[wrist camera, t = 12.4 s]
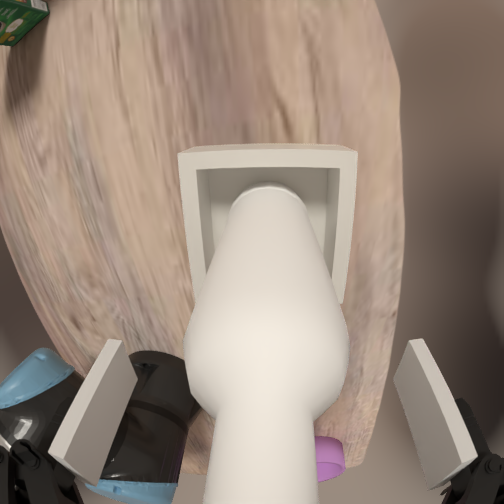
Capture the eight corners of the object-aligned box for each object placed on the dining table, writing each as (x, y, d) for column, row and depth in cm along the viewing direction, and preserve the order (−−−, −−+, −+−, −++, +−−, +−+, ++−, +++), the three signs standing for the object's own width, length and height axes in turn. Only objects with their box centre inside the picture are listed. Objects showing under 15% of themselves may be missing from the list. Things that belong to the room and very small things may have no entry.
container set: (345, 431, 50) (354, 485, 39) (338, 458, 57) (343, 502, 45) (227, 439, 53) (220, 492, 41) (238, 464, 59) (234, 508, 47)
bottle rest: (332, 274, 34) (342, 303, 29) (206, 274, 35) (195, 303, 30) (340, 145, 28) (357, 151, 22) (194, 146, 29) (177, 153, 23)
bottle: (302, 253, 32) (349, 577, 5) (230, 250, 32) (154, 570, 5) (309, 181, 29) (465, 556, 2) (230, 178, 29) (52, 549, 2)
